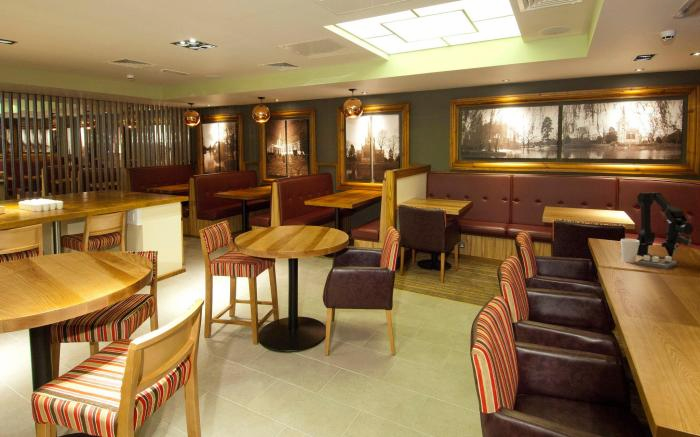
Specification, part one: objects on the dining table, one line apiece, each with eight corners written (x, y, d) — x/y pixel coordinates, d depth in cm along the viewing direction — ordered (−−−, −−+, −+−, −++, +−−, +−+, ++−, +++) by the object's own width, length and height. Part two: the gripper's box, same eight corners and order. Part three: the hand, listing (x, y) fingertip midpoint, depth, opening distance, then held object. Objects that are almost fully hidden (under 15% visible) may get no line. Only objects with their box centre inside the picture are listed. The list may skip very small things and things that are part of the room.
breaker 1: (644, 259, 254) (644, 255, 254) (649, 260, 252) (650, 255, 252) (643, 260, 253) (643, 255, 252) (648, 260, 251) (648, 256, 250)
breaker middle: (653, 260, 251) (653, 256, 250) (658, 261, 249) (659, 257, 249) (652, 261, 249) (652, 257, 249) (657, 262, 247) (658, 257, 247)
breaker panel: (646, 259, 262) (646, 256, 262) (676, 264, 251) (676, 260, 250) (637, 264, 252) (637, 261, 252) (668, 269, 241) (668, 265, 240)
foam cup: (632, 259, 263) (634, 238, 261) (641, 263, 254) (643, 241, 252) (616, 259, 264) (617, 238, 262) (624, 263, 255) (625, 241, 253)
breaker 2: (665, 260, 251) (666, 256, 251) (671, 261, 249) (671, 256, 249) (664, 261, 250) (665, 256, 249) (670, 261, 248) (670, 257, 247)
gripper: (686, 235, 238) (683, 262, 241) (694, 230, 250) (692, 257, 253) (662, 232, 247) (659, 259, 249) (671, 228, 259) (669, 254, 261)
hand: (671, 257), depth 253 cm, fingers closed
